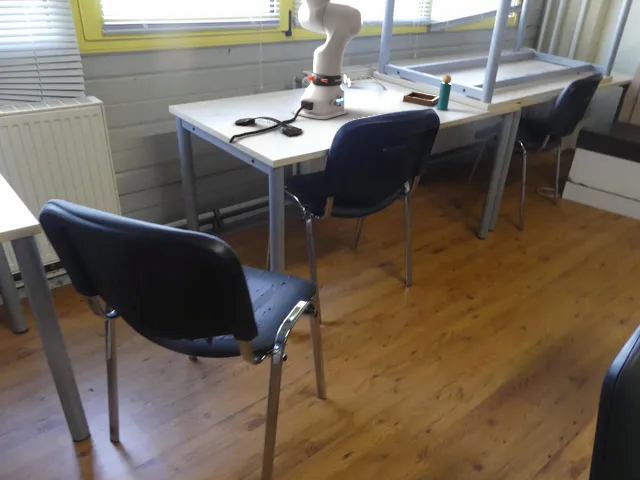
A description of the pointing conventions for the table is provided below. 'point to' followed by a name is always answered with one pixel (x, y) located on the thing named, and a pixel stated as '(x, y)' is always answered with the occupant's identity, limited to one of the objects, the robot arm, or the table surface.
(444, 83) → the toy figure
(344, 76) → the eyeglasses
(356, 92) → the table surface
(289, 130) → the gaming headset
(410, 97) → the tray
